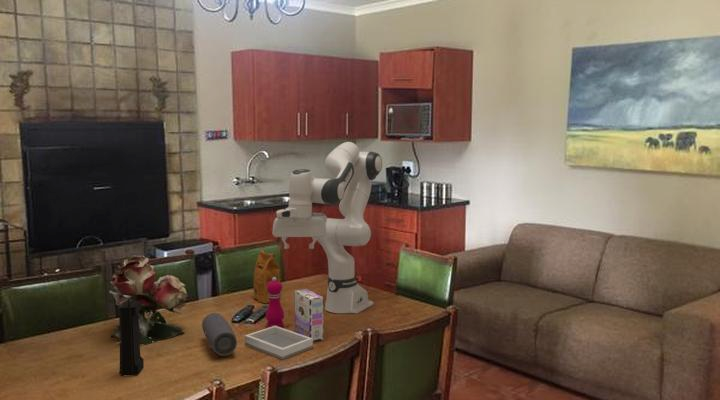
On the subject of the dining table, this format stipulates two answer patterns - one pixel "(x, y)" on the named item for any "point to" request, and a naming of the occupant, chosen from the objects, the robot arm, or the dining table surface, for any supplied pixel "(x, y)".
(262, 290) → the coffee package
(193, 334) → the dining table surface
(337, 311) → the robot arm
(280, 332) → the white tray
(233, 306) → the dining table surface
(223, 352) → the bluetooth speaker
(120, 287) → the rose bouquet
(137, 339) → the portable radio
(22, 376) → the dining table surface
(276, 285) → the pepper mill
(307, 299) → the candy box
